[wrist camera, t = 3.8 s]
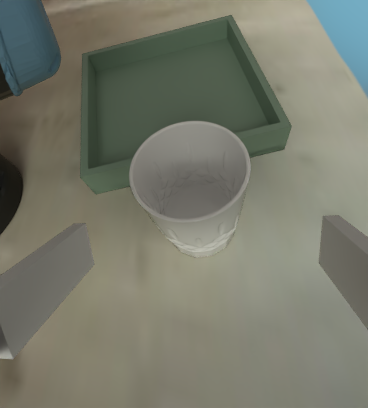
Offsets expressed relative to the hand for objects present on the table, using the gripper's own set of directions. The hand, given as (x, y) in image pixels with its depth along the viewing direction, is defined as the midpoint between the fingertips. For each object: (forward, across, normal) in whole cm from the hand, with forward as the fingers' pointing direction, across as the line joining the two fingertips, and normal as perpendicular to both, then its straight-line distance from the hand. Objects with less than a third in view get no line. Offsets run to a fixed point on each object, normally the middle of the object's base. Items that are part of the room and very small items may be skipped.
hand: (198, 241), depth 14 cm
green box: (+22, -4, +9) cm, 24 cm away
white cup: (+11, -1, -3) cm, 11 cm away
